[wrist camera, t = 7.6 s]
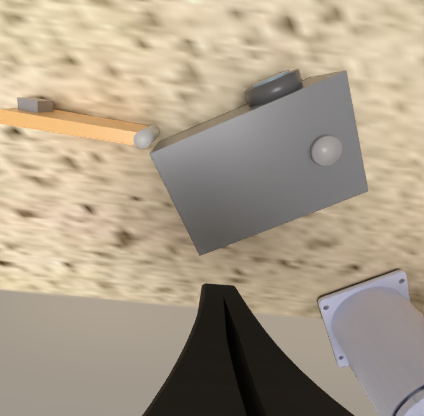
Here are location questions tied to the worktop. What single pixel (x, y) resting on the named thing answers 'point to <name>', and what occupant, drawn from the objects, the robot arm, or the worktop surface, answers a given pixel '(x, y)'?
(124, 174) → the worktop surface
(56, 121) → the side door
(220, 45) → the worktop surface
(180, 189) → the camera body
